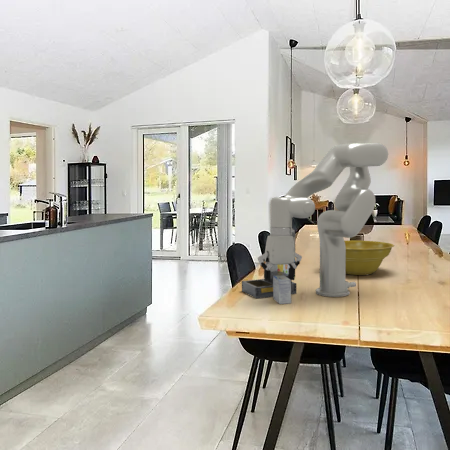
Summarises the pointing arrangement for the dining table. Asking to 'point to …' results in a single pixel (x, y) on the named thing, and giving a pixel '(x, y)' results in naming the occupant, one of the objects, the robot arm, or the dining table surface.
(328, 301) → the dining table surface
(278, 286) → the medicine box
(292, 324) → the dining table surface
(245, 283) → the rack
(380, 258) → the planter bowl
